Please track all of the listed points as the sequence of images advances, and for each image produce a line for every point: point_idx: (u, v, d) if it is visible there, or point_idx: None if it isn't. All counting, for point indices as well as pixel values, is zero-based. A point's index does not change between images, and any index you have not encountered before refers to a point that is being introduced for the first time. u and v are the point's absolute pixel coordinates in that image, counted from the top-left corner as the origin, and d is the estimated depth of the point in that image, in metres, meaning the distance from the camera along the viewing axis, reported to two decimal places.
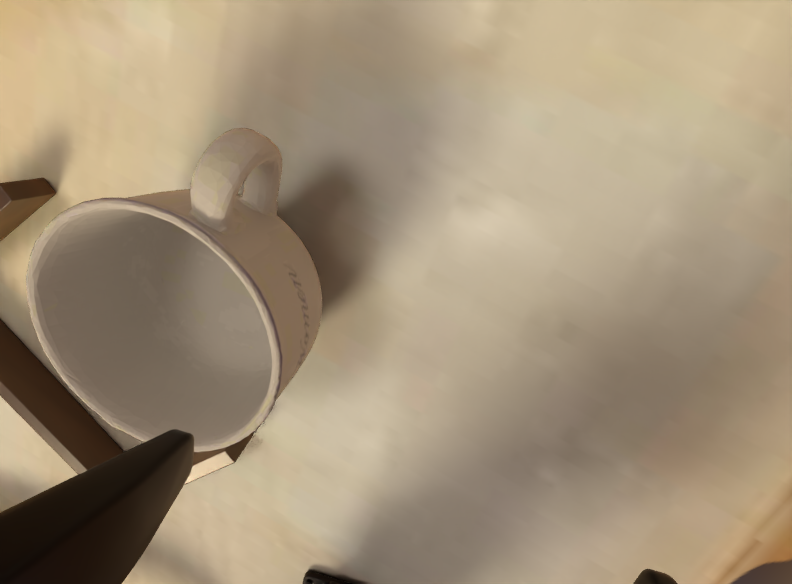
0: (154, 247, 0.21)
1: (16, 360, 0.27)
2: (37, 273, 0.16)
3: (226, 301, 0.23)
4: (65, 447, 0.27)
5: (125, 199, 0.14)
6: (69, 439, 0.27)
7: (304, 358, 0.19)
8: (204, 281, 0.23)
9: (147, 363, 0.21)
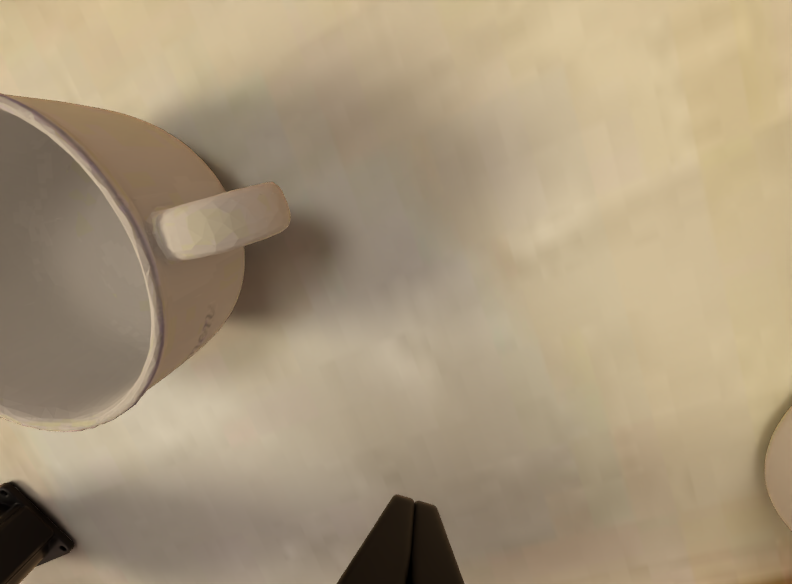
0: None
1: None
2: None
3: (125, 238, 0.19)
4: None
5: (87, 156, 0.11)
6: None
7: None
8: None
9: None
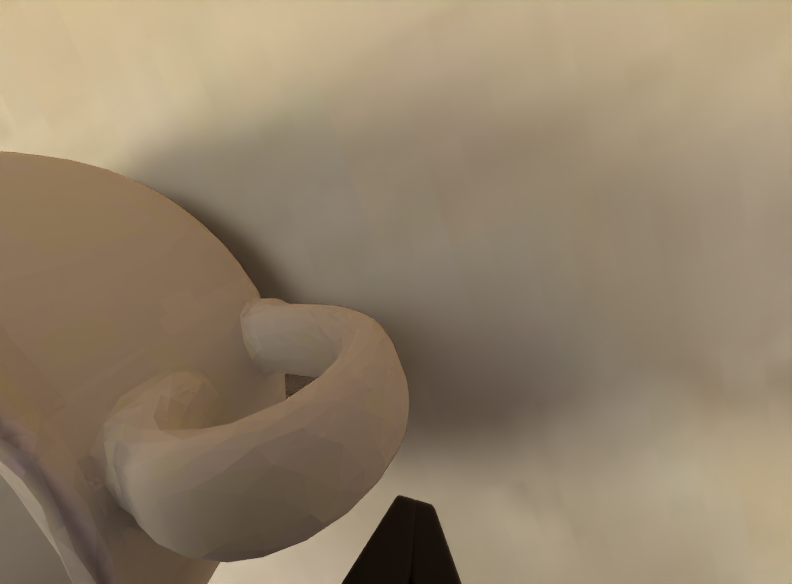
0: None
1: None
2: None
3: None
4: None
5: None
6: None
7: None
8: None
9: None
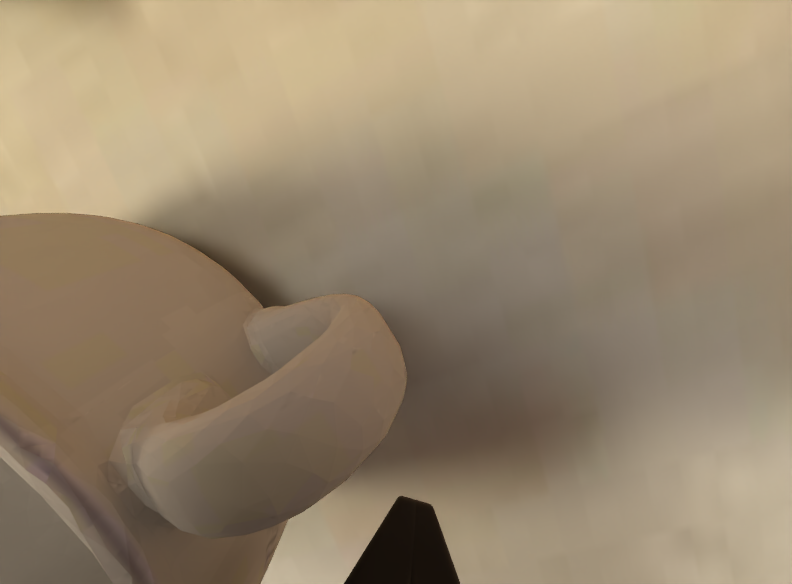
0: None
1: None
2: None
3: None
4: None
5: None
6: None
7: None
8: None
9: None
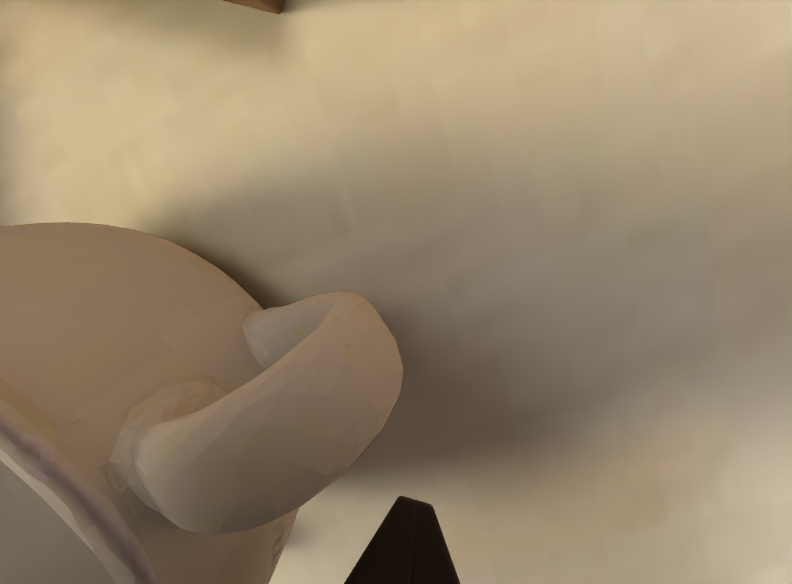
0: None
1: None
2: None
3: None
4: None
5: None
6: None
7: None
8: None
9: None
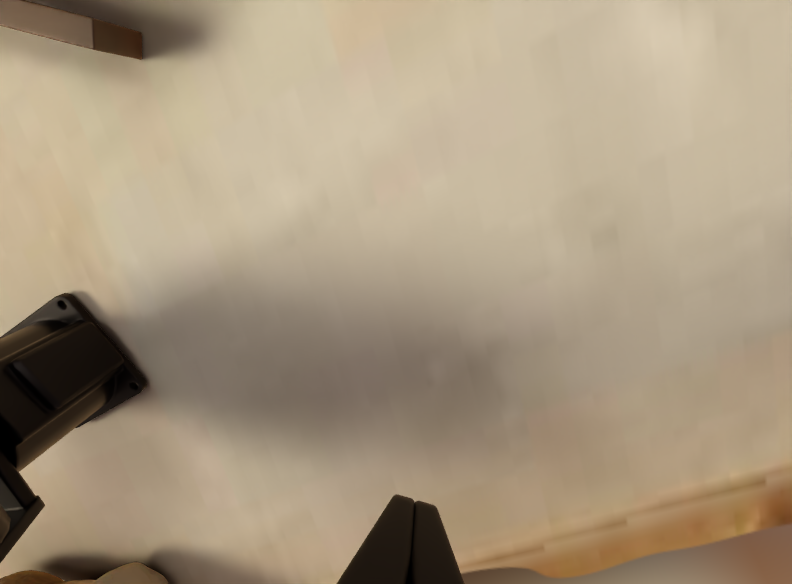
0: None
1: None
2: None
3: None
4: None
5: None
6: None
7: None
8: None
9: None
